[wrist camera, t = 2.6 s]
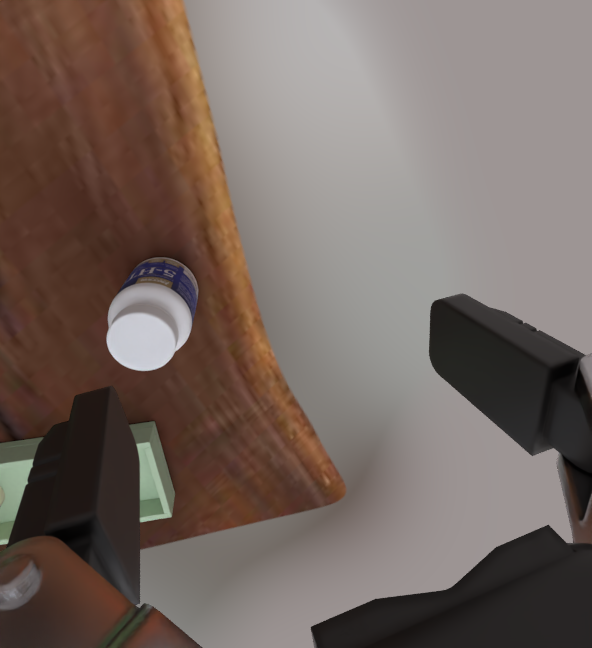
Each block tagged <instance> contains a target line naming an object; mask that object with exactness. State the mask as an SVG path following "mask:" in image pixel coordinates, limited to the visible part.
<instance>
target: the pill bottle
mask: <svg viewBox="0 0 592 648" xmlns="http://www.w3.org/2000/svg"><path fill="white" fill-rule="evenodd" d="M197 300H198V285H197V281H196V279H195V277H194V275H193V274H192V272H191V271H190V270H189V269H188V268H187V267H186V266H185V265H183V264H182V263H180V262H178V261H176V260H174V259H170V258H165V257H157V258H151V259H148V260H145V261H143V262H141V263H140V264H139V265H137V266H136V267H135V269H134V270H133V271H132V272H131V274H130V275H129V277H128V279H127V280H126V281H125V283H124V284H123V286H122V287H121V289H120V291H119V292H118V293H117V295H116V296H115V298H114V300H113V301H112V303H111V306H110V308H109V312H108V325H109V330H108V333H107V346H108V349H109V351H110V353H111V354H112V356H113V357H114V358H115V359H116V360H117V361H118V362H119V363H120V364H122V365H124V366H126V367H128V368H130V369H134V370H139V371H149V370H154V369H157V368H160V367H162V366H163V365H165V364H166V363H167V362H168V361H169V360H170V359H171V358H172V356H173V355H174V352H175V351H177V350H178V349H179V348H180V347H181V346H183V344H184V343H185V342H186V340H187V339H188V337H189V334H190V332H191V328H192V323H193V319H194V314H195V309H196V305H197Z"/></svg>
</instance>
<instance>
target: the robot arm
mask: <svg viewBox="0 0 592 648" xmlns="http://www.w3.org/2000/svg"><path fill="white" fill-rule="evenodd" d="M429 356H430V360H431V363H432V366H433V367H434V369H435V371H436V372H437V373H438V374H439V375H440V376H441V377H442V378H443V379H444V380H446V381H447V382H448V383H449V384H450V385H451V386H452V387H454V388H455V389H456V390H457V391H458V392H459V393H460V394H462V395H463V396H464V397H465V398H466V399H467V400H468V401H470V402H471V403H472V404H473V405H474V406H475V407H477V408H478V409H479V410H480V411H481V412H482V413H483V414H485V415H486V416H487V417H488V418H489V419H490V420H491V421H493V422H494V423H495V424H496V425H497V426H498V427H499V428H501V429H502V430H503V431H504V432H505V433H506V434H508V435H509V436H510V437H511V438H512V439H513V440H514V441H516V442H517V443H518V444H519V445H520V446H521V447H523V448H524V449H525V450H526V451H527V452H528V453H529V454H530V455H532V456H533V455H536V454H539V453H541V452H544V451H546V450H549V449H552V448H555V449H556V450H557V451H558V452H559V454H558V458H557V469H558V473H559V478H560V482H561V486H562V491H563V495H564V499H565V503H566V508H567V513H568V517H569V521H570V526H571V530H572V536H573V543H566V542H565V541H564V540H563V539H562V538H561V537H560V536H559V535H558V534H557V533H556V532H555V531H554V530H553V529H552V528H551V527H550V526H549V525H547V526H545V527H542V528H540V529H538V530H535V531H533V532H531V533H528V534H526V535H524V536H521V537H519V538H517V539H514V540H512V541H510V542H507V543H505V544H503V545H500V546H498V547H496V548H495V549H494V550H493V551H491V553H489V554H488V555H487V556H486V557H485V558H484V559H483V560H482V561H480V562H479V563H478V564H477V565H476V566H475V567H474V568H473V569H472V570H471V571H470V572H469V573H467V574H466V575H465V576H464V577H463V578H462V579H461V580H460V581H458V582H457V583H456V584H455V585H454V586H453V587H451V588H449V589H447V590H443V591H436V592H428V593H420V594H412V595H404V596H396V597H388V598H380V599H375V600H372V601H370V602H367V603H366V604H363V605H361V606H358V607H356V608H354V609H351V610H349V611H347V612H344V613H342V614H340V615H337V616H335V617H333V618H330V619H328V620H326V621H323V622H321V623H319V624H316V625H314V626H312V627H311V632H312V637H313V642H314V648H592V354H588V355H584V354H583V353H581V352H579V351H577V350H575V349H573V348H571V347H570V346H568V345H566V344H564V343H562V342H560V341H559V340H557V339H555V338H553V337H551V336H549V335H547V334H546V333H544V332H542V331H540V330H539V331H537V330H536V328H535V327H533V326H531V325H529V324H527V323H524V324H523V321H522V320H519V319H518V318H516V317H514V316H512V315H510V314H508V313H507V312H504V311H500V310H497V309H493V308H489V307H487V306H486V305H484V304H482V303H480V302H478V301H477V300H475V299H473V298H471V297H469V296H468V295H465V294H458V295H454V296H450V297H446V298H443V299H439V300H436V301H434V302H433V304H432V306H431V313H430V341H429ZM32 464H33V467H32V468H31V470H30V473H29V476H28V479H27V481H28V484H26V486H25V489H24V492H23V496H22V499H21V502H20V505H19V509H18V512H17V515H16V518H15V521H14V525H13V528H12V531H11V534H10V538H9V541H8V544H7V547H6V549H4V550H3V551H1V552H0V648H202V647H201V646H200V645H199V644H197V643H196V642H195V641H194V640H193V639H192V638H190V637H189V636H188V635H187V634H185V633H184V632H183V631H182V630H181V629H180V628H179V627H177V626H176V625H175V624H174V623H173V622H171V621H170V620H169V619H168V618H167V617H165V616H164V615H163V614H162V613H161V612H160V611H158V610H157V609H155V608H154V607H153V606H151V605H149V604H143V605H142V606H141V607H140V608H138V607H137V606H135V605H137V604H139V603H140V461H139V454H138V449H137V445H136V442H135V439H134V436H133V433H132V431H131V428H130V426H129V423H128V421H127V418H126V415H125V413H124V410H123V408H122V405H121V403H120V400H119V397H118V395H117V393H116V390H115V389H114V387H113V386H109V387H105V388H101V389H97V390H94V391H90V392H86V393H82V394H79V395H76V396H75V398H74V401H73V406H72V410H71V414H70V419H69V421H67V422H63V423H59V424H56V425H54V426H53V427H52V428H51V429H50V431H49V432H48V433H47V434H46V435H45V437H44V438H43V439H42V440H41V442H40V443H39V444H38V447H37V450H36V453H35V457H34V460H33V463H32Z"/></svg>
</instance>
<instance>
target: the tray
mask: <svg viewBox="0 0 592 648" xmlns="http://www.w3.org/2000/svg"><path fill="white" fill-rule="evenodd" d="M129 426H130V428H131V431H132V433H133V436H134V439H135V442H136V445H137V449H138V454H139V461H140V522H144V521H150V520H156V519H162V518H168V517H172V511H173V505H174V498H175V492H174V488H173V485H172V481H171V477H170V474H169V470H168V467H167V463H166V460H165V456H164V453H163V449H162V446H161V442H160V439H159V435H158V431H157V428H156V424H155V421H152V422H145V423H138V424H131V425H129ZM43 438H44V437H40V438H33V439H26V440H19V441H12V442H5V443H0V486H1V487H2V489H3V490H4V493H5V500H4V502H3V504H2V506H1V507H0V545H1V544H8V541H9V538H10V534H11V531H12V528H13V525H14V521H15V518H16V515H17V512H18V509H19V505H20V502H21V499H22V496H23V492H24V489H25V486H26V484H28V481H27V479H28V476H29V473H30V470H31V468H32V467H33V464H32V463H33V460H34V457H35V453H36V450H37V447H38V444H39V443H40V442H41V440H42V439H43Z"/></svg>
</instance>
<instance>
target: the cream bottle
mask: <svg viewBox="0 0 592 648" xmlns="http://www.w3.org/2000/svg"><path fill="white" fill-rule="evenodd" d="M4 500H5V493H4V490H3V489H2V487H1V486H0V507H1V506H2V504H3V502H4Z"/></svg>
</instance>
